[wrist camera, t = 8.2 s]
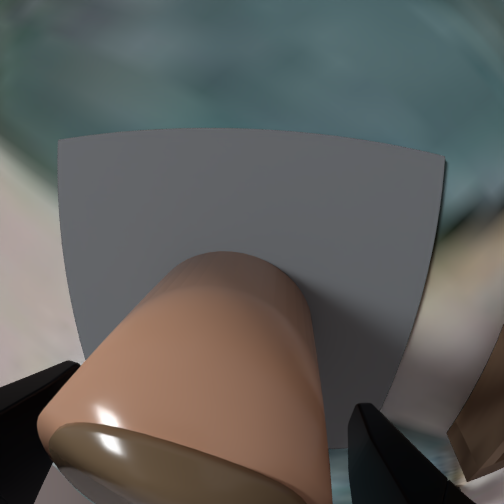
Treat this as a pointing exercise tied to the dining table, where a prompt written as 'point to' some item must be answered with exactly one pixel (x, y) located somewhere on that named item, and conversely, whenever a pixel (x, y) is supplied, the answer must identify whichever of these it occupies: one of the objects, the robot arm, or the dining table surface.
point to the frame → (482, 421)
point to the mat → (259, 234)
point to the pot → (199, 395)
